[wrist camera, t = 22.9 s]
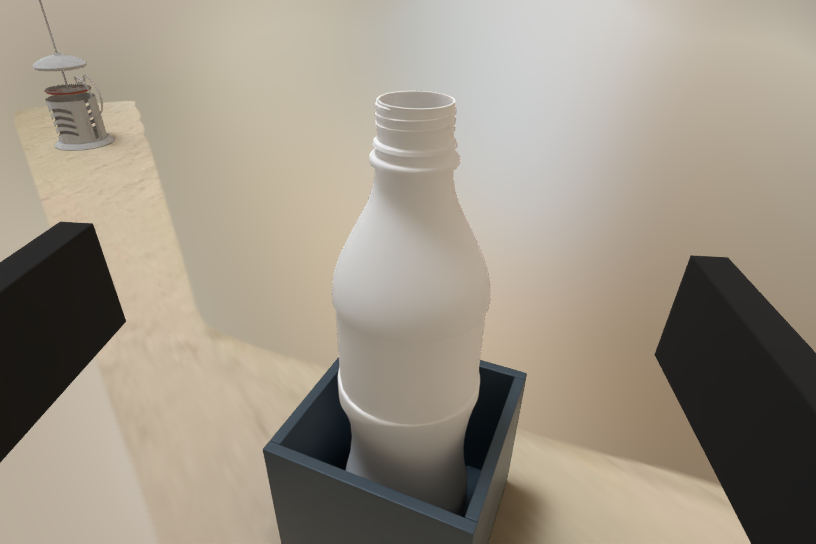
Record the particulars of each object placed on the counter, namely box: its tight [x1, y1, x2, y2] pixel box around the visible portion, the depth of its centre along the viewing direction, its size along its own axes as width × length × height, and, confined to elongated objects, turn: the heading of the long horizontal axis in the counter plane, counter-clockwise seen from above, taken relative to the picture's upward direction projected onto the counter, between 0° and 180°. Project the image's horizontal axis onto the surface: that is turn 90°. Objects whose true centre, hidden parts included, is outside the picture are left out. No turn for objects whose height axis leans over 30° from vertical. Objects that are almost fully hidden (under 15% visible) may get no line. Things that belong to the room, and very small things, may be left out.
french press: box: [33, 0, 114, 150], centre depth 89 cm, size 10×12×25 cm
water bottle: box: [332, 91, 490, 516], centre depth 25 cm, size 7×7×25 cm
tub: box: [263, 357, 527, 544], centre depth 30 cm, size 11×11×10 cm
